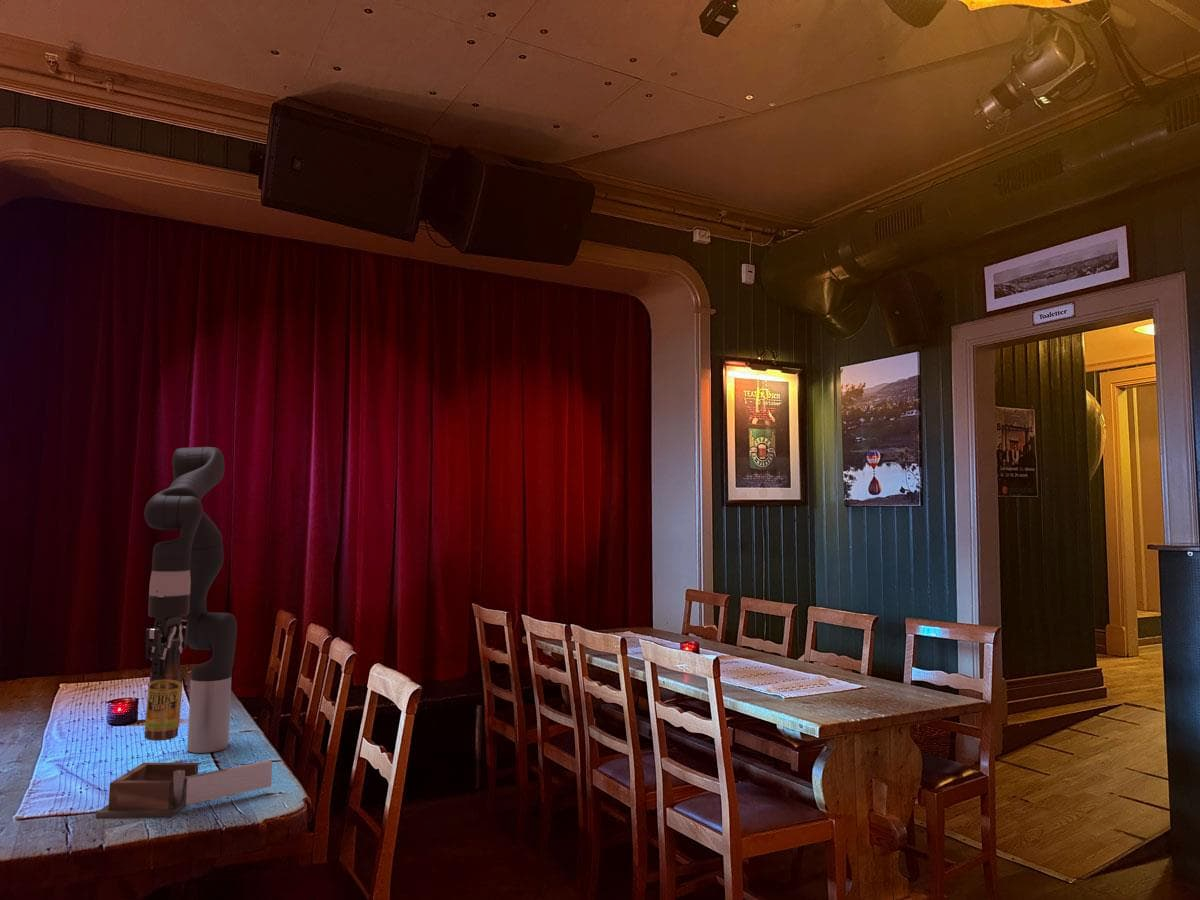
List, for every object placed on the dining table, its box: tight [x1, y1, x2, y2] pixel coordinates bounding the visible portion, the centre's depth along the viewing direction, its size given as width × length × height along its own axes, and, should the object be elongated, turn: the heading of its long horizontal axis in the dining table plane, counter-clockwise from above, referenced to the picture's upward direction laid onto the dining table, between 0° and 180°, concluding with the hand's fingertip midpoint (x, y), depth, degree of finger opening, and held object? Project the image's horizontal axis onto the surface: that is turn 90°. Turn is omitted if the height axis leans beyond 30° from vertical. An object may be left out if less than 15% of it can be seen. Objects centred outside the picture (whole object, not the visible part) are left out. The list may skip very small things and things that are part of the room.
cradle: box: [95, 762, 199, 819], centre depth 166 cm, size 16×14×6 cm
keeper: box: [172, 759, 273, 807], centre depth 167 cm, size 19×2×6 cm, turn 133°
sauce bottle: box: [144, 638, 184, 742], centre depth 168 cm, size 6×6×20 cm
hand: (165, 675), depth 168 cm, fingers closed on sauce bottle, 6 cm apart
